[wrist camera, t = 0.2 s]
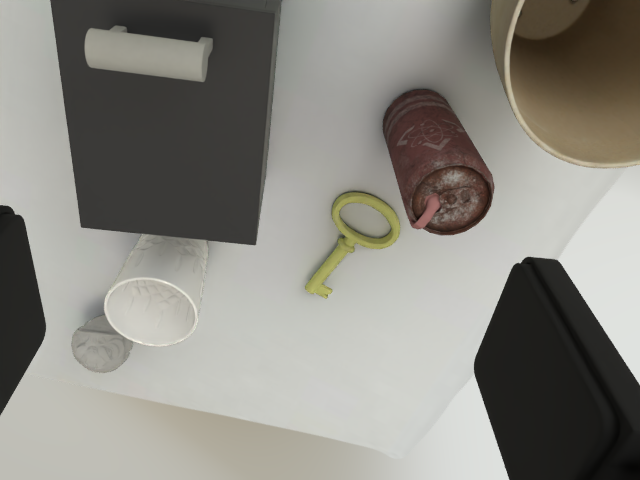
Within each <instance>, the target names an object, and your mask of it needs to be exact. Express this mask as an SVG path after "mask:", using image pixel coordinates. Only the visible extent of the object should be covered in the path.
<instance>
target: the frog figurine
mask: <svg viewBox="0 0 640 480" xmlns="http://www.w3.org/2000/svg"><path fill="white" fill-rule="evenodd" d="M71 344H72V350H73V354H74V357H75V359H76V360H77V361H78V362H79V363H80V364H82V365H83V366H84V367H85V368H87V369H89V370H91V371H94V372H99V373H107V372H111V371H114V370H116V369H117V368H118V367H119V366H121V365H122V364H123V363H124V362H125V361H126V360H127V358H128V356H129V354H130V352H129V351H130V350H131V349H132V346H133V341H131V340H129V339H127V338H125V337H124V336H122V335H121V334H119V333H118V332H117V331H116V330H115V329H114V328H113V327H112V326H111V325H110V323H109V322H108V320H107V318H106V315H102V316H98V317H96V318H94V319H92V320H91V321H87V323H86V324H84V326H81V327H79V328H78V329H77V330H76V331H75V332H74V334H73V336H72V343H71Z"/></svg>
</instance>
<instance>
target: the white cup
mask: <svg viewBox="0 0 640 480" xmlns="http://www.w3.org/2000/svg"><path fill="white" fill-rule="evenodd" d="M208 254H209V250H208V245H207V241H206V240H198V239H189V238H179V237H169V236H159V235H149V234H142V235H141V237H140V239H139V241H138V243H137V244H136V245H135V247H134V248H133V250H132V251H131V253H130V255H129V257H128V258H127V260H126V261H125V263H124V265H123V266H122V268H121V270H120V272H119V274H118V276H117V277H116V279H115V281H114V283H113V285H112V286H111V288H110V290H109V292H108V293H107V295H106V297H105V301H104V312H105V315H106V318H107V320H108V322H109V323H110V325H111V326H112V327H113V328H114V329H115V330H116V331H117V332H118V333H119V334H121V335H122V336H124V337H125V338H127V339H129V340H131V341H133V342H136V343H139V344H143V345H148V346H169V345H173V344H176V343H179V342H181V341H183V340H185V339H186V338H187V337H189V336H190V335H191V334H192V333H193V331H194V330H195V328H196V325H197V322H198V316H199V311H200V305H201V300H202V295H203V289H204V283H205V276H206V264H207V259H208Z"/></svg>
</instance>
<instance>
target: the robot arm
mask: <svg viewBox="0 0 640 480" xmlns="http://www.w3.org/2000/svg"><path fill="white" fill-rule="evenodd" d="M45 332H46V322H45V317H44V312H43V307H42V303H41V298H40V293H39V288H38V284H37V279H36V274H35V269H34V265H33V260H32V255H31V250H30V246H29V241H28V236H27V231H26V227H25V222H24V219H23V218H22V216H20V215H15V213H14V211H13V209H12V208H11V207H9V206H3V205H0V415H1V413H2V412H3V410H4V408H5V406H6V405H7V403H8V401H9V399H10V397H11V396H12V394H13V392H14V391H15V389H16V387H17V386H18V384H19V382H20V380H21V379H22V377H23V375H24V373H25V372H26V370H27V368H28V366H29V365H30V363H31V361H32V359H33V358H34V356H35V354H36V352H37V351H38V349H39V347H40V346H41V344H42V342H43V340H44V336H45ZM474 373H475V377H476V380H477V383H478V386H479V389H480V392H481V395H482V398H483V401H484V404H485V407H486V410H487V413H488V416H489V419H490V422H491V425H492V428H493V431H494V434H495V438H496V440H497V444H498V447H499V450H500V452H501V456H502V459H503V461H504V464H505V468H506V471H507V474H508V477H509V480H640V385H639V383H638V382H637V380H636V379H635V377H634V376H633V374H632V373H631V371H630V369H629V368H628V366H627V365H626V363H625V362H624V360H623V359H622V357H621V356H620V354H619V353H618V351H617V350H616V348H615V346H614V345H613V343H612V342H611V340H610V339H609V338H608V336H607V334H606V333H605V331H604V330H603V328H602V326H601V325H600V323H599V322H598V320H597V319H596V317H595V316H594V314H593V313H592V311H591V310H590V308H589V307H588V305H587V304H586V302H585V300H584V299H583V297H582V296H581V294H580V293H579V291H578V290H577V288H576V286H575V285H574V284H573V282H572V280H571V279H570V277H569V276H568V274H567V273H566V271H565V270H564V268H563V266H562V265H561V264H560V262H559V261H558V260H555V259H545V258H535V257H527V258H525V259H524V260H523V261H522V262H521V263H517V264H515V265H514V266H513V268H512V269H511V272H510V274H509V277H508V279H507V282H506V284H505V286H504V289H503V291H502V294H501V296H500V299H499V301H498V304H497V306H496V309H495V311H494V313H493V316H492V318H491V321H490V323H489V326H488V328H487V331H486V333H485V335H484V338H483V340H482V343H481V345H480V348H479V350H478V353H477V355H476V358H475V362H474Z"/></svg>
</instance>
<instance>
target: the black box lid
mask: <svg viewBox="0 0 640 480" xmlns="http://www.w3.org/2000/svg"><path fill="white" fill-rule="evenodd" d="M50 1H51V8H52V15H53V23H54V30H55V38H56V45H57V52H58V60H59V67H60V75H61V82H62V89H63V97H64V104H65V112H66V119H67V126H68V134H69V141H70V149H71V156H72V163H73V171H74V178H75V186H76V193H77V200H78V208H79V215H80V223H81V227H82V228H91V229H101V230H110V231H120V232H130V233H140V234H149V235H159V236H169V237H179V238H189V239H198V240H208V241H218V242H228V243H238V244H247V245H256V240H257V228H258V217H259V205H260V193H261V181H262V169H263V158H264V146H265V134H266V122H267V110H268V99H269V87H270V75H271V63H272V52H273V40H274V28H275V16H276V11H272V10H265V9H258V8H250V7H243V6H236V5H229V4H222V3H215V2H208V1H201V0H50Z"/></svg>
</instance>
